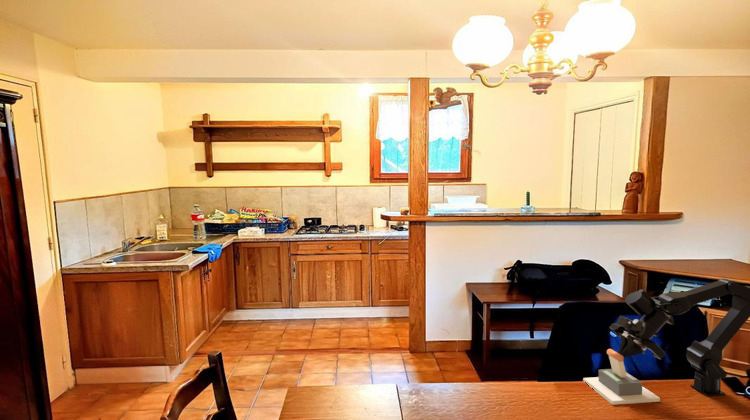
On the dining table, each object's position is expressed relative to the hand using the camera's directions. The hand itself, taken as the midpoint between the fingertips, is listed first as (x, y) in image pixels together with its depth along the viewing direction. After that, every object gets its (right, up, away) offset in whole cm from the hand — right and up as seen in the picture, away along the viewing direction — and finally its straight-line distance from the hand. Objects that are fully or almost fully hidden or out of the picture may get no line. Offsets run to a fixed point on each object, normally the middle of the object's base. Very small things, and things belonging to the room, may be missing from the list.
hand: (618, 358), depth 129 cm
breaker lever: (+1, -6, 0) cm, 6 cm away
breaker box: (+1, -11, +1) cm, 11 cm away
